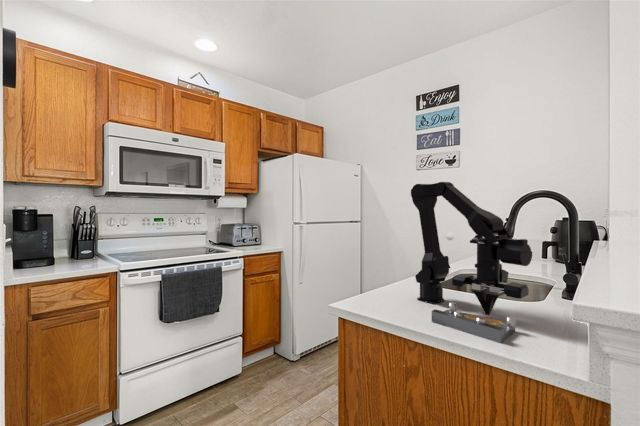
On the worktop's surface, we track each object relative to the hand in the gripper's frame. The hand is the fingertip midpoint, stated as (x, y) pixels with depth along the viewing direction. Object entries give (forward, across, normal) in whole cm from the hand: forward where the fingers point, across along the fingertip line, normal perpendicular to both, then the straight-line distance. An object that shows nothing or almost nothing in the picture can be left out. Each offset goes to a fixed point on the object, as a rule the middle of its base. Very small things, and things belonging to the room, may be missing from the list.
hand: (487, 314), depth 92 cm
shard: (+2, 0, +6) cm, 6 cm away
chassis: (+1, 0, +9) cm, 9 cm away
